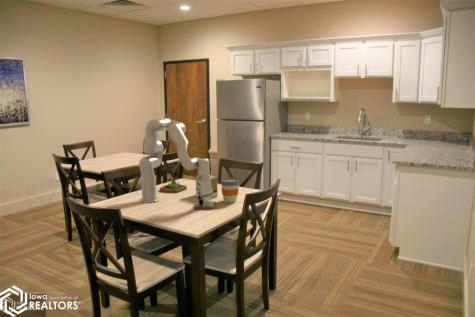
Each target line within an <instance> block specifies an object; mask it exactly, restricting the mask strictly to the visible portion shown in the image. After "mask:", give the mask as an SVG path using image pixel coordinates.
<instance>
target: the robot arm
mask: <svg viewBox="0 0 475 317" xmlns="http://www.w3.org/2000/svg"><path fill="white" fill-rule="evenodd" d="M186 130H187V127H186V125H185V123H183V122H180V121H177V120H174V119H171V118H168V117H164V118H163V117H162V118H153V119H151V120H149V121H148V122H147V123H146V125H145V132H144V133H145V134H144V140H143V153H144V154H145V155H147V156H143V157H141V159H140V160H139V161H138V162H139V163H138V166H139V169H140V177H141V178H140V179H141V180H140V181H141V195H142V197H141V198H140V199H139V200H140V202H141V203H145V204H149V203H156V202H158V201H159V197H158V196H157V187H156V186H157V185H156V174H155V170H154V169H156V168H158V167H160V166H161V164H162V160H163V154H164V145H163V143H162V141H161V140H159V139H158V132H165V131H167V133H168V135H169V136H170V138H171V139H172V141H173V143H174V146H175V147H176V149H177V151H176V152H177V157H178V161H179V163H180V164H181V165H182V167H183V168H184V170H186V171H194V170H196V169H197V176H198V182H197V192H196V191H195V194H194V196H195V197H196V198H197V200H198V199H199V205H203V199H202V197H203V195H210V196H211V194H212V192H213V190H212V183H211V179H210V175H211V174H210V172H211V170H210V159H209V158H200V157H197V156H196V157H190V156H189V154H188V151H187V150H188V145H189V140H188V138H187V137H186V135H185V133H186V132H187V131H186ZM200 195H201V197H200Z"/></svg>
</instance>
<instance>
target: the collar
mask: <svg viewBox="0 0 475 317" xmlns="http://www.w3.org/2000/svg"><path fill="white" fill-rule="evenodd" d="M200 197H201V196H200ZM202 199H203V205H201V206H204V207H205V206H209V207H213V206H214V202H215V201H214V200H212V198H211V196H210V195H203V197H202ZM197 202H198V205H199V199H198V198H197Z"/></svg>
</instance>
